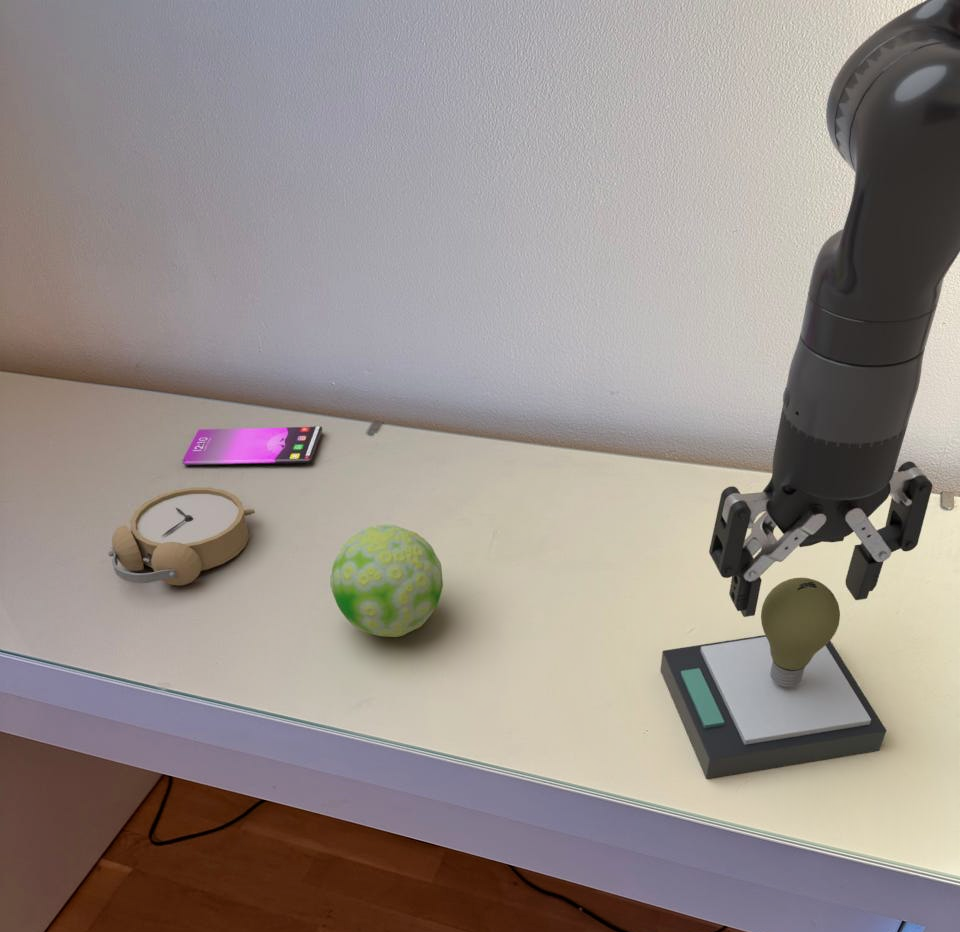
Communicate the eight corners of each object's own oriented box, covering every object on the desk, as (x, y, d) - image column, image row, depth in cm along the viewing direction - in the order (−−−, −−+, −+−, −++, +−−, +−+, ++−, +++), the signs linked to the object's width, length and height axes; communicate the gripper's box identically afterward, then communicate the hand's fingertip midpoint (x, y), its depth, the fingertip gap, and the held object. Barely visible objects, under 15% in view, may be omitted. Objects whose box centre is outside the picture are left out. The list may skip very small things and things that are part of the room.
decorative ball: (457, 592, 91) (449, 506, 84) (431, 666, 84) (421, 579, 77) (358, 582, 93) (342, 497, 86) (325, 654, 86) (305, 568, 79)
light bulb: (777, 647, 79) (799, 552, 72) (835, 683, 76) (863, 587, 69) (733, 680, 77) (751, 585, 70) (791, 718, 74) (815, 623, 67)
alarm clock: (268, 501, 98) (164, 565, 87) (273, 544, 101) (172, 610, 90) (184, 476, 102) (74, 534, 91) (191, 518, 105) (85, 578, 94)
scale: (816, 645, 83) (823, 620, 81) (879, 750, 75) (889, 725, 73) (660, 670, 82) (662, 645, 80) (706, 779, 74) (710, 754, 72)
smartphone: (311, 466, 108) (310, 459, 107) (182, 466, 109) (180, 460, 108) (324, 431, 113) (322, 425, 112) (200, 432, 114) (198, 425, 114)
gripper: (757, 454, 56) (724, 650, 68) (986, 422, 57) (916, 620, 69) (715, 391, 62) (690, 582, 73) (925, 363, 63) (869, 555, 74)
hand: (800, 600), depth 71 cm, fingers open, 8 cm apart
